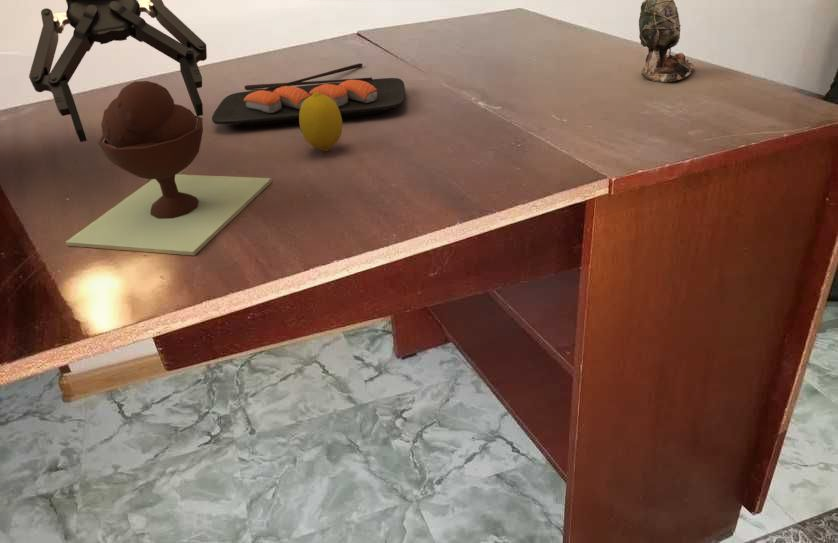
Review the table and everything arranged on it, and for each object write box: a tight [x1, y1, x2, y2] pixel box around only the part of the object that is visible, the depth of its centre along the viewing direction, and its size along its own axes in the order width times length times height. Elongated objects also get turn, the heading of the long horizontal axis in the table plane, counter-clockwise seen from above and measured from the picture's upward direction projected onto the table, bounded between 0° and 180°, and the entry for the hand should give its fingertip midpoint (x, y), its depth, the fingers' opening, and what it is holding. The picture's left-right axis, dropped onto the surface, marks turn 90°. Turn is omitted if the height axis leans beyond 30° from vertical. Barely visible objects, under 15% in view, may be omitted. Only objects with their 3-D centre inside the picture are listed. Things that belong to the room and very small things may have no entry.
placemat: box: [65, 173, 273, 257], centre depth 81 cm, size 16×18×1 cm
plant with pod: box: [638, 0, 695, 83], centre depth 103 cm, size 8×11×20 cm
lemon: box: [298, 92, 343, 152], centre depth 91 cm, size 6×6×8 cm
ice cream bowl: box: [97, 80, 204, 219], centre depth 77 cm, size 11×11×15 cm
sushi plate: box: [211, 62, 406, 127], centre depth 114 cm, size 29×30×4 cm
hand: (142, 123), depth 83 cm, fingers open, 13 cm apart
